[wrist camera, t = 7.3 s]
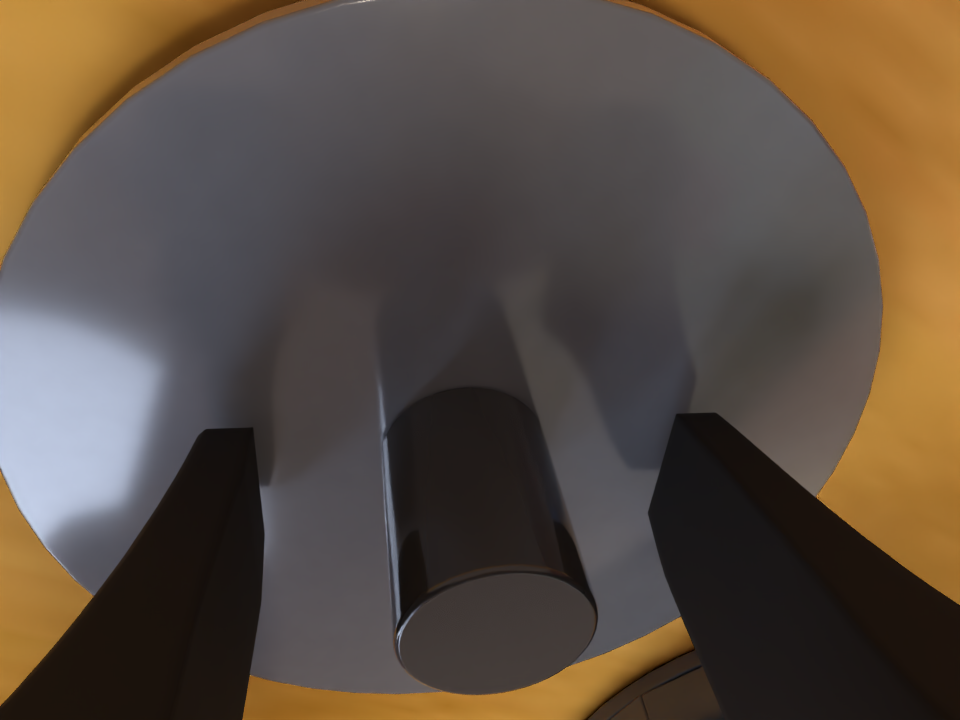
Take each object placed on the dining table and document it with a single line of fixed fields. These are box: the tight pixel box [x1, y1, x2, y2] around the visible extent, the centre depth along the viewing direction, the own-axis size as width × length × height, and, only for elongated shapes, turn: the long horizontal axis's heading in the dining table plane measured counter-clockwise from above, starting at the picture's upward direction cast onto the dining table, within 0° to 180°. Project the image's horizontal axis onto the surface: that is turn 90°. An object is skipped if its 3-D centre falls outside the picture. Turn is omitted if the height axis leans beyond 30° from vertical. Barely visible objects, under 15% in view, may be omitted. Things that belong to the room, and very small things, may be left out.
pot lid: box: [0, 0, 883, 695], centre depth 11 cm, size 13×13×4 cm
